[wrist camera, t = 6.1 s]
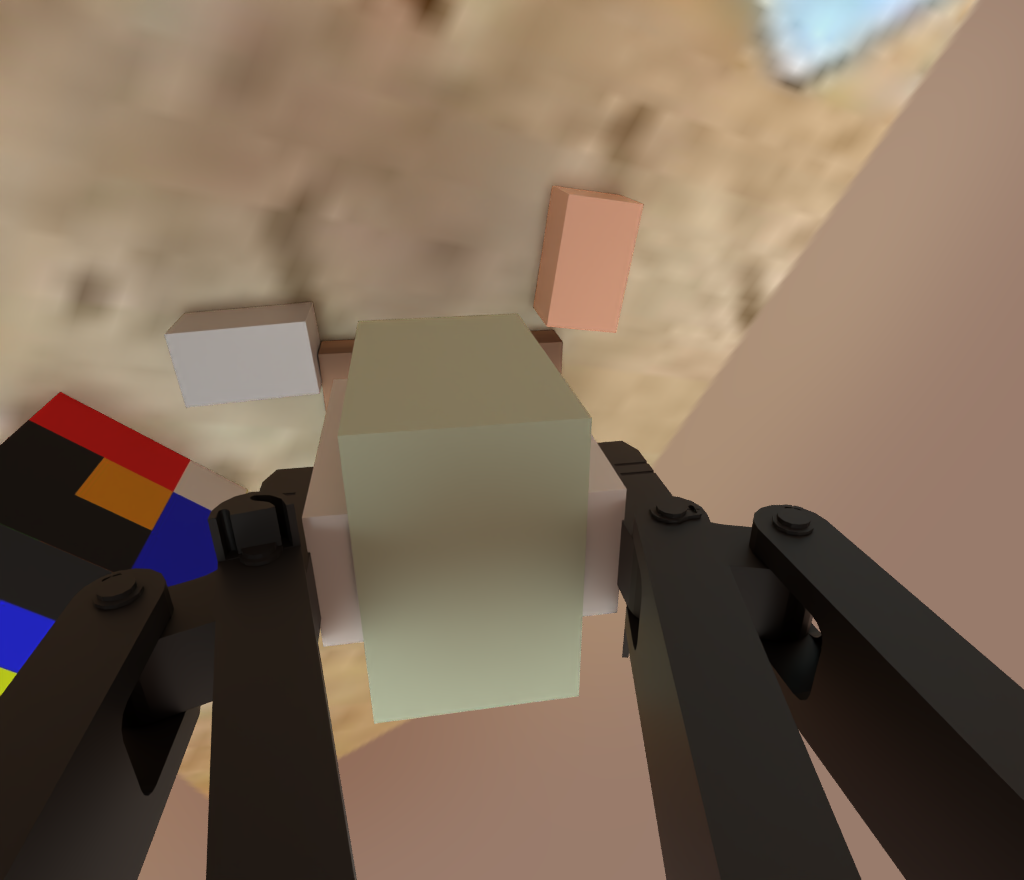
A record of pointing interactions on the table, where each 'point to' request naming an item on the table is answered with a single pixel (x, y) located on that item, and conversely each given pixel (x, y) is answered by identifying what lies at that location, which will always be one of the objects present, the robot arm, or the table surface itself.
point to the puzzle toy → (92, 516)
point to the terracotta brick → (586, 259)
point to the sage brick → (464, 514)
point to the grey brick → (246, 354)
